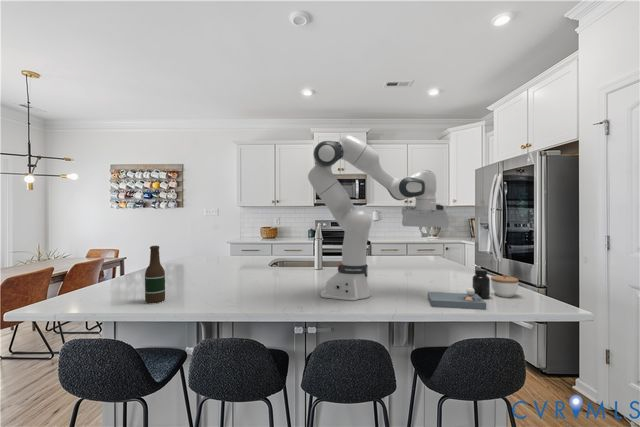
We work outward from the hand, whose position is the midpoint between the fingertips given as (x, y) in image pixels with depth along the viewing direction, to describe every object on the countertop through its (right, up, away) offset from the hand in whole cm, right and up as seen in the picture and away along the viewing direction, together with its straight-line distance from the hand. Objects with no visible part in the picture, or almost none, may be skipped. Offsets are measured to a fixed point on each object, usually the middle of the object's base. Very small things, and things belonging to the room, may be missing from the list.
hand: (424, 237), depth 146 cm
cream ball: (+16, -22, -10) cm, 29 cm away
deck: (+8, -26, -13) cm, 30 cm away
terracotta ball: (+13, -25, -16) cm, 32 cm away
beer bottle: (-118, -28, -7) cm, 122 cm away
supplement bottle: (+24, -26, -4) cm, 36 cm away
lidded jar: (+35, -26, -1) cm, 44 cm away
